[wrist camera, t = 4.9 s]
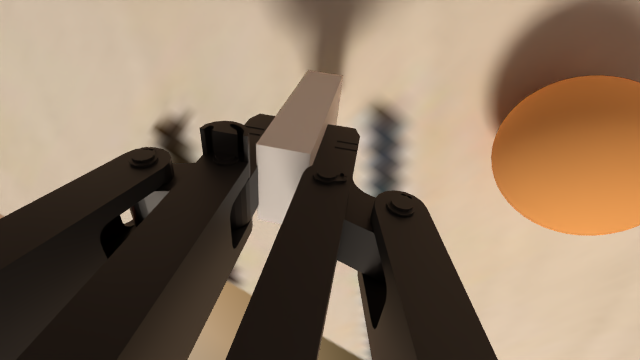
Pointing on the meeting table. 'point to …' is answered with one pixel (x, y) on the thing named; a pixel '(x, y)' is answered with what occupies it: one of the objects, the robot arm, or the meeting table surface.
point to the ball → (573, 156)
